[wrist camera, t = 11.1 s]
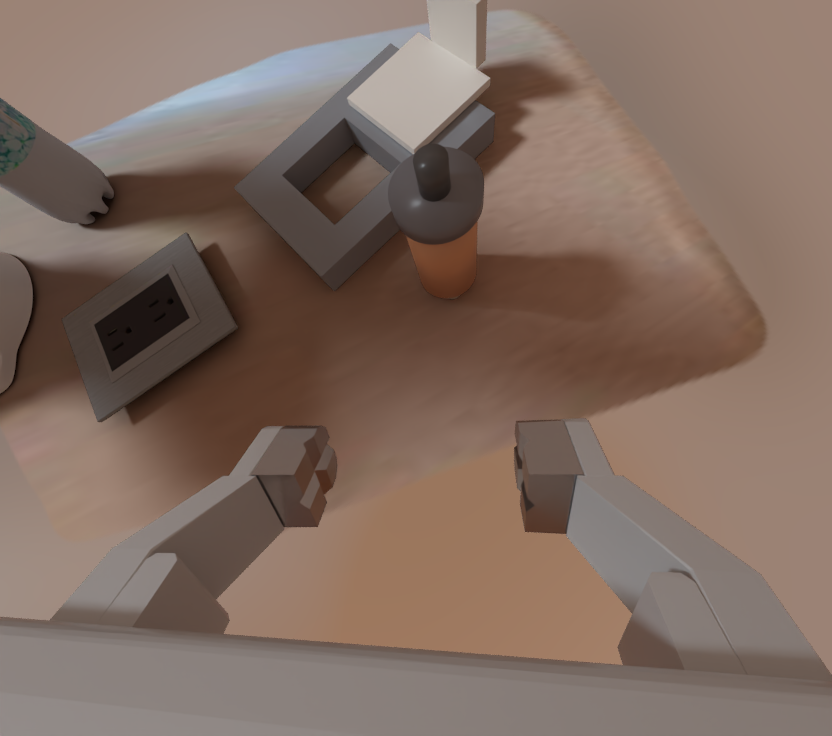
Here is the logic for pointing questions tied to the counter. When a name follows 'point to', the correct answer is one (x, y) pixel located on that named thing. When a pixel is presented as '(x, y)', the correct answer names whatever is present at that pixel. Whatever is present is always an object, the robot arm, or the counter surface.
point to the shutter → (429, 76)
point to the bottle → (48, 171)
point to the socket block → (318, 149)
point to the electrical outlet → (146, 326)
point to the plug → (440, 215)
